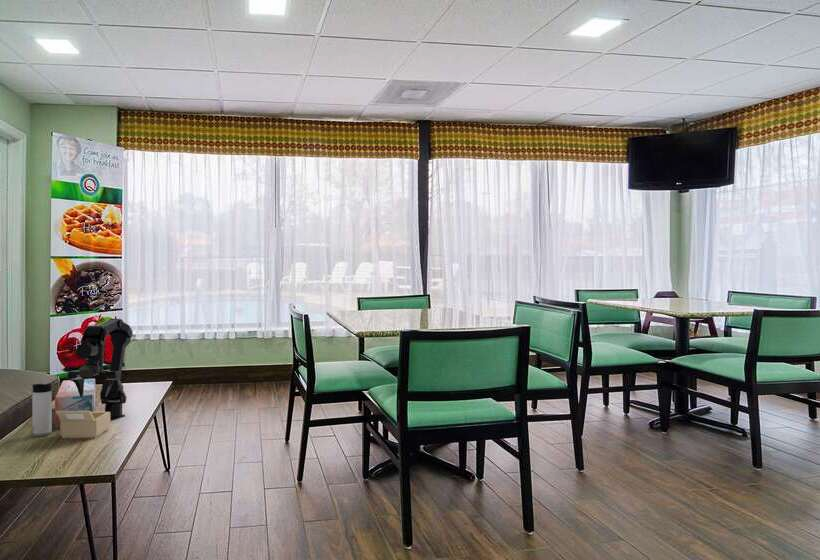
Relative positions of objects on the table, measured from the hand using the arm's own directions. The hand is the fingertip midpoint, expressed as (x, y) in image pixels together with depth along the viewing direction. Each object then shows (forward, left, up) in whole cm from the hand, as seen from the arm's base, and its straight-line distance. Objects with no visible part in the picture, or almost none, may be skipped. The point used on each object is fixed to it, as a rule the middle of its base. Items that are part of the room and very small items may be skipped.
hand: (93, 396), depth 236 cm
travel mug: (+12, -13, -13) cm, 22 cm away
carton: (+6, +2, -13) cm, 14 cm away
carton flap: (+13, +5, -4) cm, 15 cm away
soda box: (-16, -24, -14) cm, 32 cm away
